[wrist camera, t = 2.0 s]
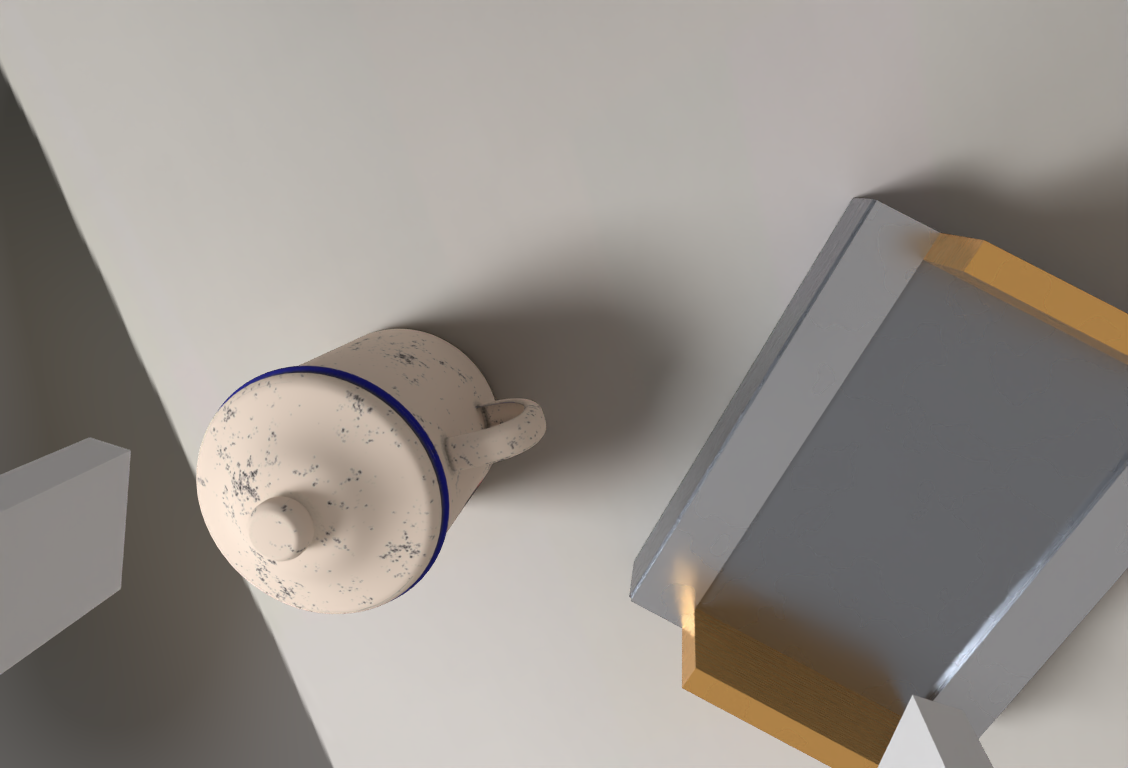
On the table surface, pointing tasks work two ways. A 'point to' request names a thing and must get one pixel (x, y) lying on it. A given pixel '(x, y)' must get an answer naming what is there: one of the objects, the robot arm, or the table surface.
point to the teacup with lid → (353, 467)
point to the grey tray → (899, 492)
